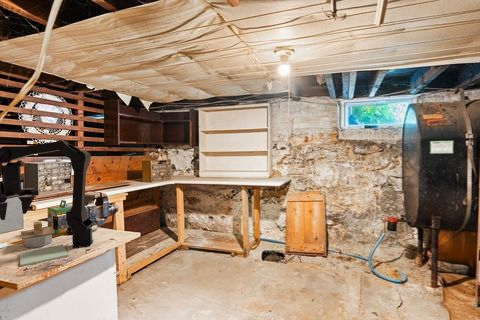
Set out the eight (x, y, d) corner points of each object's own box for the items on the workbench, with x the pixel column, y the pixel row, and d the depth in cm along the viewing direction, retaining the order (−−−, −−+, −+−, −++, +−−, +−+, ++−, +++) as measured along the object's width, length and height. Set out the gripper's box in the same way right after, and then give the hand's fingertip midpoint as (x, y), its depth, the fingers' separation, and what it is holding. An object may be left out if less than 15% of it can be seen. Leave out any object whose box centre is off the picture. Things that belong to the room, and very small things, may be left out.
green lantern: (47, 231, 132) (46, 201, 132) (67, 226, 140) (66, 198, 139) (55, 234, 127) (55, 203, 126) (76, 229, 135) (75, 200, 134)
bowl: (50, 238, 121) (50, 228, 121) (52, 244, 114) (52, 233, 114) (24, 243, 115) (23, 233, 115) (24, 249, 108) (24, 238, 108)
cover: (52, 228, 122) (51, 217, 122) (55, 234, 114) (55, 223, 114) (20, 232, 115) (20, 222, 115) (21, 239, 107) (21, 228, 107)
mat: (62, 245, 113) (62, 244, 113) (68, 256, 102) (68, 254, 102) (19, 254, 104) (19, 252, 104) (20, 266, 93) (20, 264, 93)
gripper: (14, 175, 117) (17, 211, 118) (-33, 181, 99) (-30, 223, 100) (38, 175, 116) (40, 211, 117) (-5, 181, 98) (-2, 223, 98)
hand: (14, 216), depth 108 cm, fingers open, 9 cm apart
